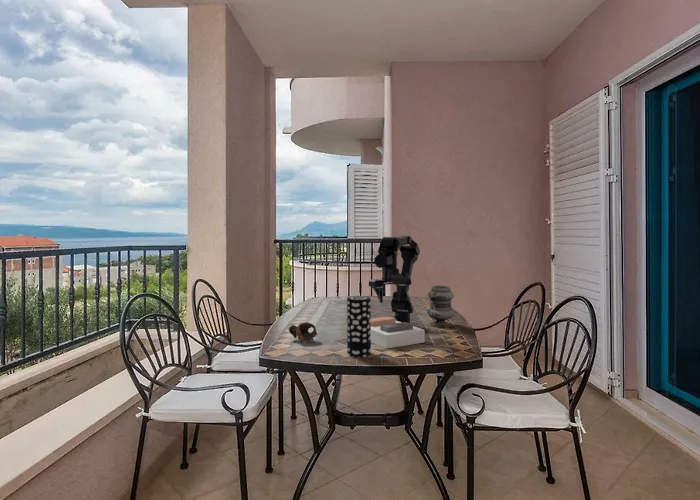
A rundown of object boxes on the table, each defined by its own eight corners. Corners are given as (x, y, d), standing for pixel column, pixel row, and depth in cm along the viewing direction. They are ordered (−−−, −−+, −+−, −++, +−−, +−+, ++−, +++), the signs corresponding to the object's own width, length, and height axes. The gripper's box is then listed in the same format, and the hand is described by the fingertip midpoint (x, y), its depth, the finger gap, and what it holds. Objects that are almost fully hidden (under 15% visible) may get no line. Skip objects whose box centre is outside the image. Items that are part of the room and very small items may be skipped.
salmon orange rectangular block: (389, 325, 184) (389, 316, 184) (395, 328, 179) (395, 318, 179) (365, 328, 178) (364, 319, 178) (371, 331, 174) (371, 321, 174)
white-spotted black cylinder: (354, 358, 147) (353, 300, 146) (343, 352, 154) (343, 297, 153) (375, 355, 150) (374, 298, 150) (363, 349, 158) (363, 295, 157)
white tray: (390, 330, 188) (390, 318, 188) (424, 342, 167) (424, 329, 167) (354, 334, 180) (354, 323, 180) (385, 348, 159) (385, 335, 159)
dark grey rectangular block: (405, 331, 173) (405, 322, 173) (412, 334, 169) (412, 324, 169) (380, 335, 168) (380, 325, 167) (387, 338, 163) (387, 327, 163)
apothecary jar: (433, 328, 191) (433, 288, 190) (423, 322, 203) (423, 285, 202) (458, 327, 193) (458, 287, 193) (447, 321, 205) (447, 284, 204)
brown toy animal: (318, 338, 176) (320, 323, 172) (311, 354, 168) (313, 339, 164) (291, 330, 178) (293, 315, 174) (282, 345, 170) (284, 330, 166)
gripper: (381, 268, 172) (382, 306, 173) (419, 266, 181) (419, 303, 182) (367, 266, 182) (368, 303, 183) (403, 264, 191) (403, 299, 191)
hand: (390, 302), depth 184 cm, fingers open, 9 cm apart
